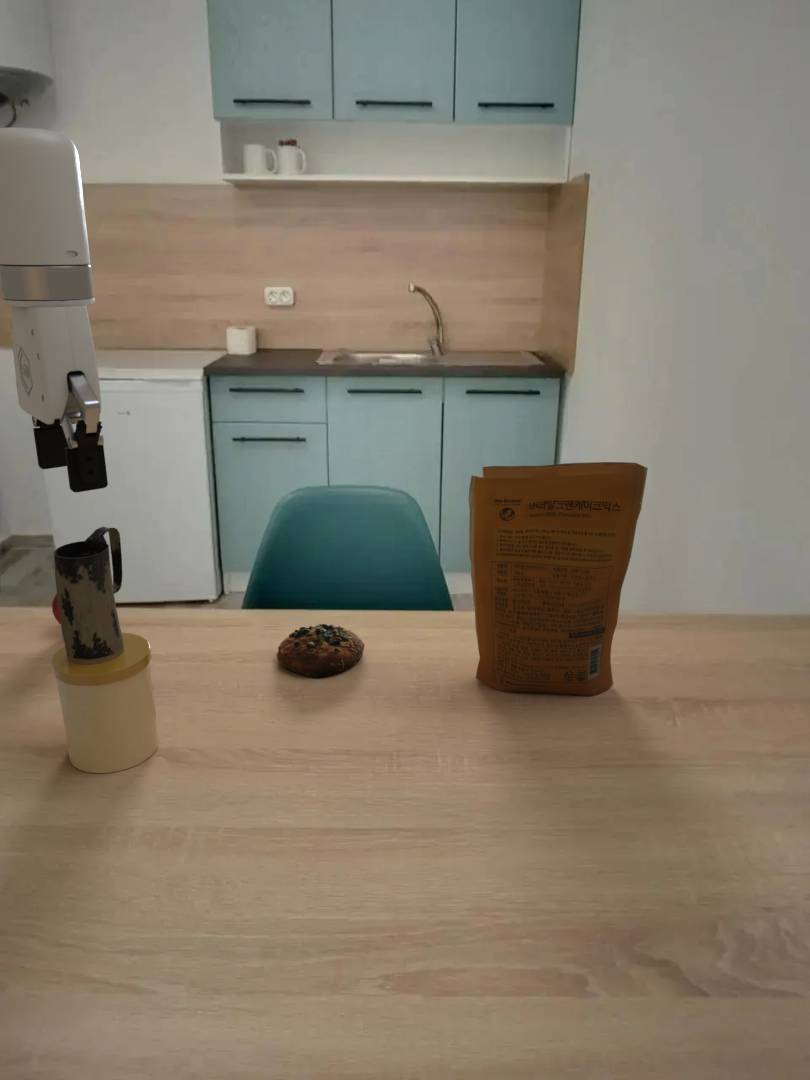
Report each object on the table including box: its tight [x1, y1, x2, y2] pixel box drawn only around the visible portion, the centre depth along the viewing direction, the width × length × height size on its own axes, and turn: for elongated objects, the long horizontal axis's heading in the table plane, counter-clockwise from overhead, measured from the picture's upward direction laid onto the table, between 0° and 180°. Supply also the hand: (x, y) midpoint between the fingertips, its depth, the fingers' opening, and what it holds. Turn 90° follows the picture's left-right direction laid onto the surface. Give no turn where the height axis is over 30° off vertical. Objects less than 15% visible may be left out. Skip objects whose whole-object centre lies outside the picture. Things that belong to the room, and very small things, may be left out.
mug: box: [53, 526, 125, 665], centre depth 83 cm, size 8×6×12 cm
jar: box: [51, 632, 160, 774], centre depth 85 cm, size 9×9×11 cm
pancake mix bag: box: [468, 461, 649, 697], centre depth 94 cm, size 7×19×28 cm, turn 84°
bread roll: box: [276, 623, 365, 679], centre depth 106 cm, size 11×11×5 cm
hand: (72, 477), depth 78 cm, fingers open, 9 cm apart
